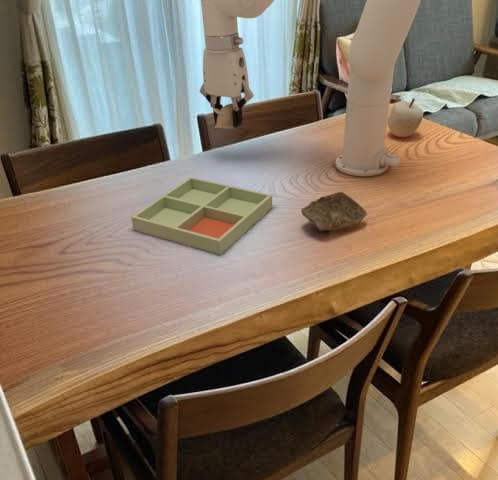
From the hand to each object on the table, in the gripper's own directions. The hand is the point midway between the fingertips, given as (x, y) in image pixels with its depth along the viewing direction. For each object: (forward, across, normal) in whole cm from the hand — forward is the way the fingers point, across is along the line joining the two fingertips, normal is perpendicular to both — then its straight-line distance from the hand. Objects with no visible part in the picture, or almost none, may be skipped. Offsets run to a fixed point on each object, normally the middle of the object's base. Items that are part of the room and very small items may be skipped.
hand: (228, 123), depth 131 cm
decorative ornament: (+1, 0, 0) cm, 1 cm away
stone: (+10, -36, +20) cm, 43 cm away
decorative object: (+10, -34, -33) cm, 48 cm away
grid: (+9, -11, +29) cm, 33 cm away
